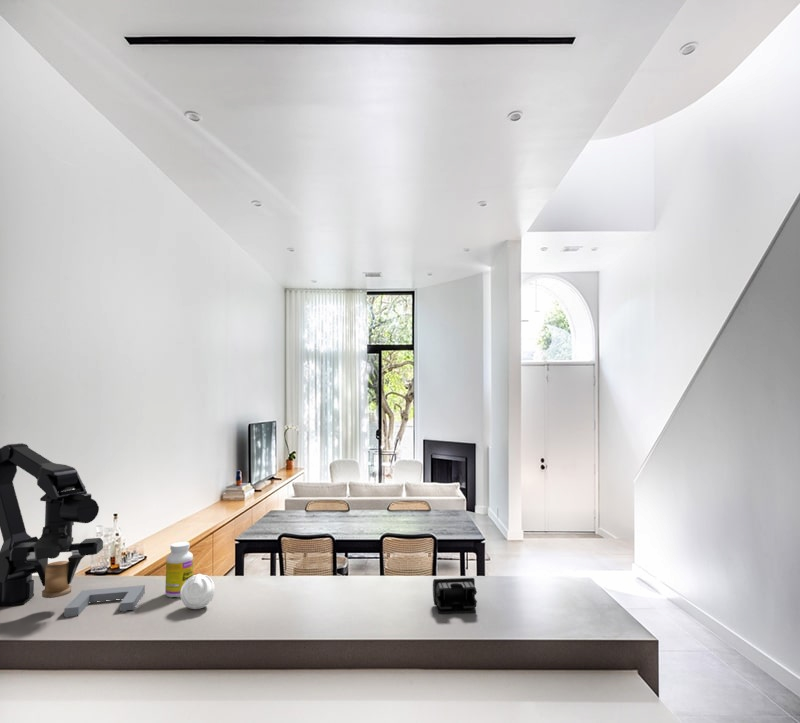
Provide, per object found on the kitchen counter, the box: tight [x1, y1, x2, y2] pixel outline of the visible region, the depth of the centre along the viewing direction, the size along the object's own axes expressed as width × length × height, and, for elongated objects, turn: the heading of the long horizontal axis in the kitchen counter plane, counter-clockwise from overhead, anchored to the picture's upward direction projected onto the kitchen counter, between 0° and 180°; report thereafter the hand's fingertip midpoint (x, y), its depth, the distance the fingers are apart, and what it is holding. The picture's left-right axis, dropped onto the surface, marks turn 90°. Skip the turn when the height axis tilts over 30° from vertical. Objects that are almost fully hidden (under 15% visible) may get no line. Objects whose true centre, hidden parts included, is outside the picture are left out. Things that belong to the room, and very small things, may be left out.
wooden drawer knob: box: [41, 560, 72, 599], centre depth 132 cm, size 6×6×7 cm
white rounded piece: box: [179, 573, 215, 610], centre depth 132 cm, size 8×8×8 cm
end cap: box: [432, 577, 478, 615], centre depth 131 cm, size 10×7×7 cm
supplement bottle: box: [164, 541, 194, 598], centre depth 142 cm, size 7×7×13 cm
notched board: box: [63, 584, 146, 618], centre depth 135 cm, size 15×12×2 cm
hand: (57, 584), depth 131 cm, fingers closed on wooden drawer knob, 5 cm apart
